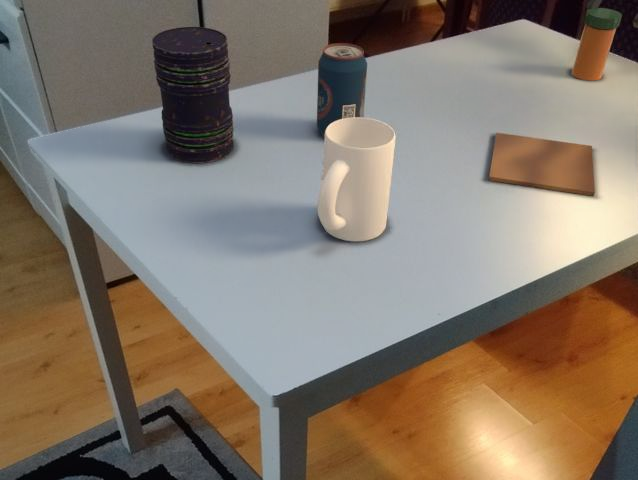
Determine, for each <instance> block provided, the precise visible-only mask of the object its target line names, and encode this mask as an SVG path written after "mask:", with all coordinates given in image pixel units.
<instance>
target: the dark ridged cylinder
mask: <svg viewBox="0 0 638 480" xmlns="http://www.w3.org/2000/svg"><path fill="white" fill-rule="evenodd" d="M151 43H152V49H153V58H154V59H153V64H154V71H155V75H156V76H155V79H156V82H157V86H158V87H159V90H160V96H161V104H162V109H161V121H162V130H163V135H164V140H165V142H166V144H165V146H166V147H165V148H166V152H167V154H168V155H169V156H170V157H171V158H173V159H175V160H177V161H180V162H183V163H189V164H208V163H213V162H217V161H221V160H224V159H225V158H227V157H228V156H230V155H231V154H232V153H233V151H234V149H235V142H234V130H235V129H234V127H235V126H234V120H233V119H234V118H233V117H234V114H233V109H232V107H231V104H230V87H229V86H230V83H231V73H230V68H231V65H230V57H229V49H228V37H227V35H226V34H225V33H224V32H221V31H220V30H217V29H214V28H209V27H204V26H203V27H202V26H182V27H173V28H169V29H165V30H162V31H160V32H157V34H155V35H153V37H152V38H151Z"/></svg>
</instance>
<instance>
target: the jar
mask: <svg viewBox="0 0 638 480" xmlns="http://www.w3.org/2000/svg"><path fill="white" fill-rule="evenodd" d="M616 31H617V28H615V29H599V28H594V27H591V26H588V25H587V24H585V23H584V26H583V30H582V33H581V36H580V40H579V45H578V47H577V51H576V55H575V58H574V62H573V65H572V69H571V75H572V76H573V77H575V78H577V79H580V80H583V81H598V80H601V79H602V77H603V73H604V69H605V66H606V63H607V60H608V57H609V54H610V51H611V47H612V44H613V40H614V37H615V34H616Z"/></svg>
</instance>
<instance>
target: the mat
mask: <svg viewBox="0 0 638 480" xmlns="http://www.w3.org/2000/svg"><path fill="white" fill-rule="evenodd" d="M494 137H495V138H494V145H493V150H492V154H491V155H492V156H491V162H490V168H489V174H488V178H487V179H488V181H490V182H491V181H492V182H499V183H505V184H511V185H512V184H513V185H518V186H523V187H531V188H536V189H537V188H538V189H545V190H550V191H557V192H563V193H564V192H565V193H571V194H577V195H583V196H591V197H594V196H595V194H596V188H595V173H594V172H595V171H594V156H593V145H588V144H581V143H573V142H567V141H559V140H554V139H553V140H552V139H545V138H539V137H532V136H531V137H530V136H525V135H524V136H523V135H517V134H509V133H508V134H507V133H502V132H496V133H495V136H494Z"/></svg>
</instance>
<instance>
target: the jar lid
mask: <svg viewBox="0 0 638 480" xmlns="http://www.w3.org/2000/svg"><path fill="white" fill-rule="evenodd" d="M622 16H623V15H622V13H621V12H619V11H618V10H615V9H610V8H606V7H605V8H604V7H598V8H592V9H589V10H586V13H585V16H584V19H583V20H584V21H583V22H584V25H585V24H587V25H588V26H591V27H594V28H599V29H615V28H616V29H617V28H618V27H620V24H621V21H622Z"/></svg>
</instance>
